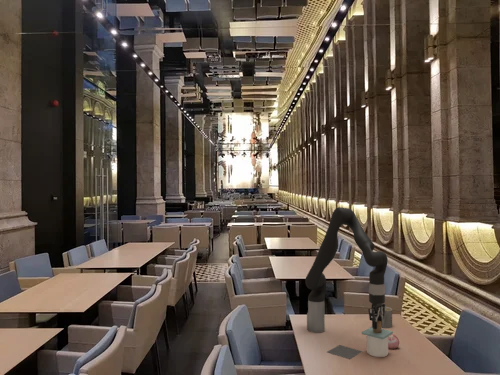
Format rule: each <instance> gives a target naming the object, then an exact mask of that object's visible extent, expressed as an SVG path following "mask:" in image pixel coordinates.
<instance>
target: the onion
mask: <svg viewBox="0 0 500 375" xmlns="http://www.w3.org/2000/svg"><path fill="white" fill-rule="evenodd" d="M399 346H400V340H399V338H398V336H396V334H394V333H393V334H391V335H390V336H388V350H394V349H395V350H397V348H398V347H399Z"/></svg>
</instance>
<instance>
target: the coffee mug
mask: <svg viewBox="0 0 500 375" xmlns="http://www.w3.org/2000/svg"><path fill="white" fill-rule="evenodd" d="M375 315H377V314H375ZM391 328H393V309H392V308H391V307H390V306H389V307H388V306H385V314H384V316H383V318H382V329H391Z"/></svg>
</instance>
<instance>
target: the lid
mask: <svg viewBox="0 0 500 375" xmlns="http://www.w3.org/2000/svg"><path fill="white" fill-rule="evenodd" d="M391 334H393V335H394V332H393V330H389V329H385V328H382V325H381V321H379V320H377V329H373V328H372V326H370V327H369V328H366V329H364V330H363V331H361V335H363V336H366V337H367V336H371V337H375V338H379V339H385V338H386V337H388V336H390V335H391Z"/></svg>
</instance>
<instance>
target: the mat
mask: <svg viewBox="0 0 500 375" xmlns="http://www.w3.org/2000/svg"><path fill="white" fill-rule="evenodd" d="M326 353H327V354H331V355H334V356H337V357H340V358H345V359H348V360H352V359H353V358H355V357H356V356H359V354H361V353H363V350H359V349H355V348H352V347H348V346H345V345H342V344H339V345H337V346H335V347H333V348H331V349H329V350H327V351H326Z"/></svg>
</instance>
